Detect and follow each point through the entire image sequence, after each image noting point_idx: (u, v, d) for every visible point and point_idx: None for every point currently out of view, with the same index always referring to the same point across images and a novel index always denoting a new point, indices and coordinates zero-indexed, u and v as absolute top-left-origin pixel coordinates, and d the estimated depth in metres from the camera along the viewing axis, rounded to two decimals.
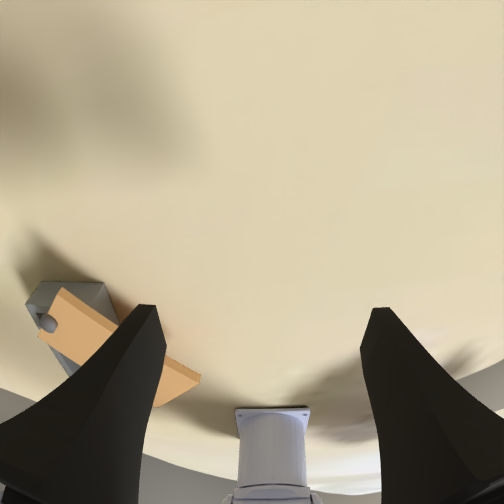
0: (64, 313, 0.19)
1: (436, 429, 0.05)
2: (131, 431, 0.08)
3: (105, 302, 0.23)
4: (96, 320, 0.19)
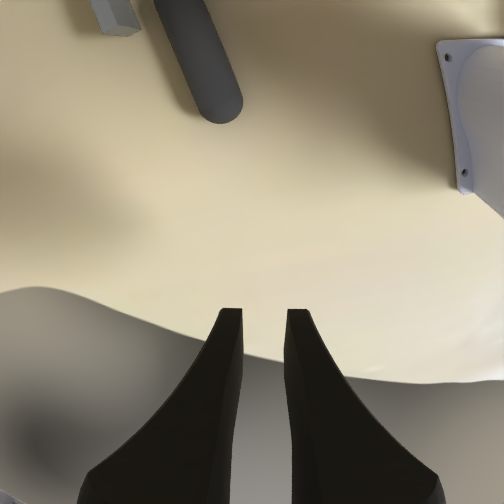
0: None
1: (311, 447, 0.05)
2: (229, 442, 0.08)
3: None
4: None
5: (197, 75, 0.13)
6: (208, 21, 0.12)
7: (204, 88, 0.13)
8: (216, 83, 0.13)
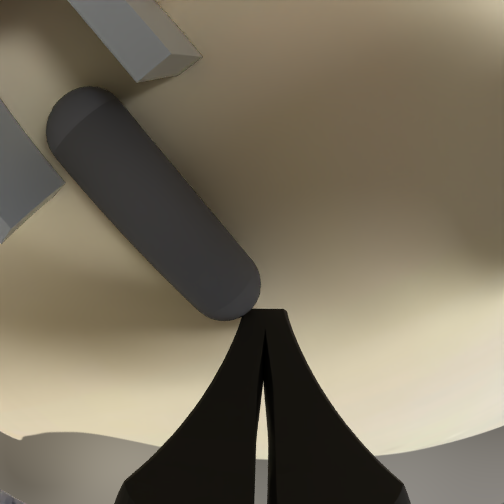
0: None
1: (274, 448, 0.05)
2: None
3: None
4: None
5: (171, 272, 0.08)
6: (150, 165, 0.07)
7: (190, 289, 0.08)
8: (207, 279, 0.08)
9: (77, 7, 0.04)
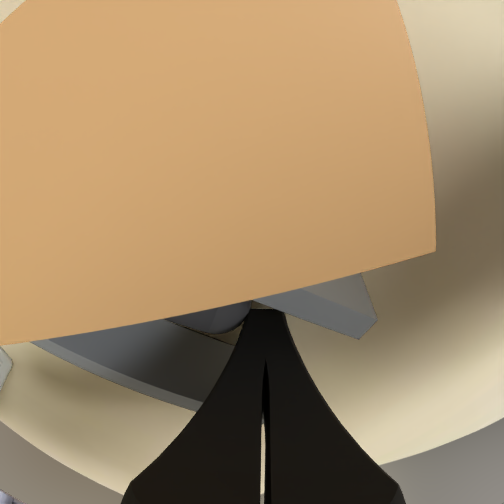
0: None
1: (270, 448, 0.05)
2: None
3: None
4: None
5: None
6: None
7: None
8: None
9: (286, 309, 0.08)
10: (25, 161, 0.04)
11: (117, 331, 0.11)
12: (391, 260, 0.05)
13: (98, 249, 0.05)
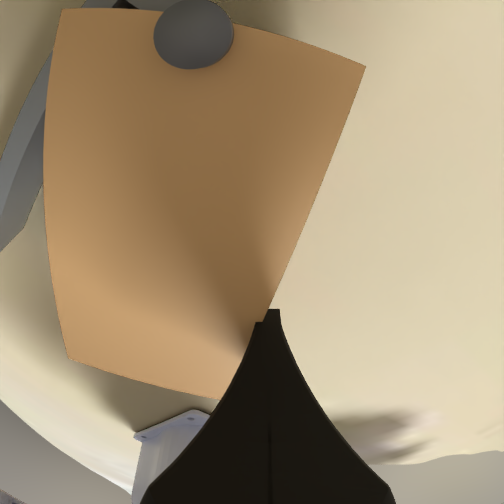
0: (286, 91, 0.06)
1: (260, 448, 0.05)
2: None
3: None
4: None
5: None
6: None
7: None
8: None
9: None
10: (177, 259, 0.08)
11: None
12: (65, 343, 0.11)
13: (102, 255, 0.08)
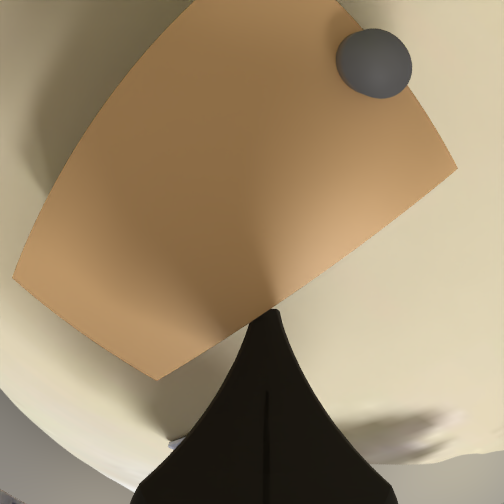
0: (398, 152, 0.06)
1: (263, 448, 0.05)
2: None
3: None
4: None
5: None
6: None
7: None
8: None
9: None
10: (211, 236, 0.08)
11: None
12: (18, 262, 0.08)
13: (131, 194, 0.07)
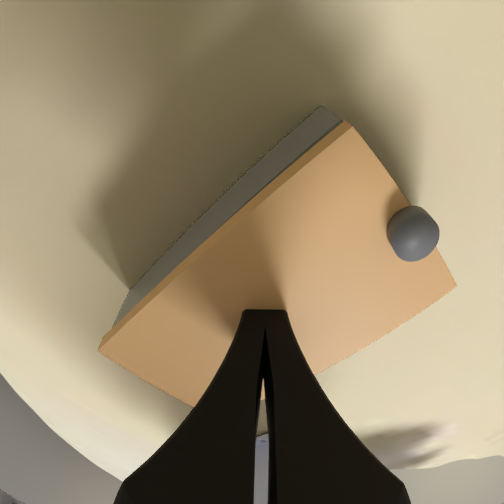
0: (417, 282, 0.09)
1: (275, 448, 0.05)
2: None
3: None
4: None
5: None
6: None
7: None
8: None
9: None
10: None
11: None
12: (106, 340, 0.11)
13: (225, 309, 0.10)
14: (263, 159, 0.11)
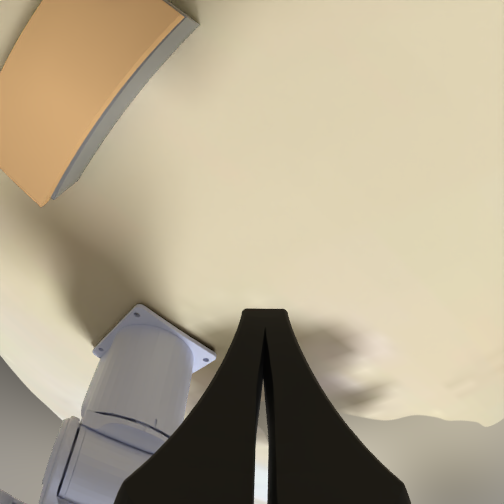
0: (139, 16, 0.10)
1: (275, 448, 0.05)
2: None
3: (179, 41, 0.13)
4: (129, 71, 0.11)
5: None
6: None
7: None
8: None
9: None
10: (59, 82, 0.11)
11: None
12: None
13: (29, 69, 0.11)
14: None
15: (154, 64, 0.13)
